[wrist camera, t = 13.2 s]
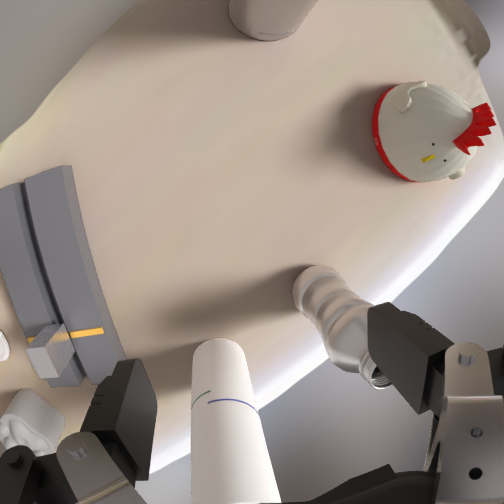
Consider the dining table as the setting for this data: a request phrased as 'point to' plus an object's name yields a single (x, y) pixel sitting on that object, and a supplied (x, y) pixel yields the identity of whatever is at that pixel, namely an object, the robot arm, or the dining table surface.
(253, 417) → the cylindrical container
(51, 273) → the fader console
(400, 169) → the kitchen timer
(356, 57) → the dining table surface
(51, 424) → the lumpy-topped squat cylinder
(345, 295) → the plastic bottle
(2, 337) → the downlight
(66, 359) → the fader knob
